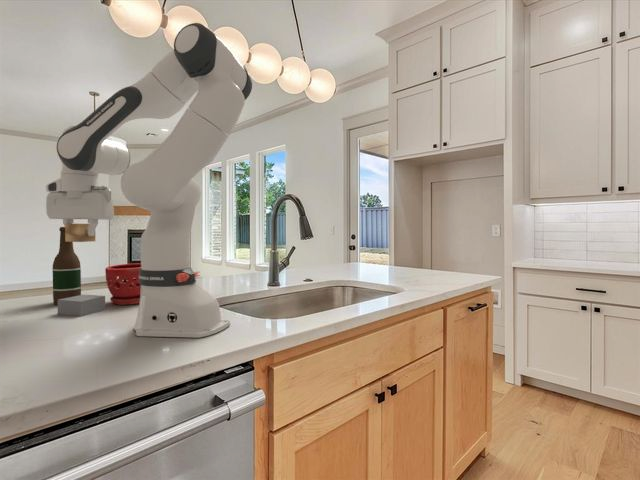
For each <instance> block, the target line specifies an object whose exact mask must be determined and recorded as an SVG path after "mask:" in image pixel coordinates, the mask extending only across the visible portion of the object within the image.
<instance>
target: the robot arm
mask: <svg viewBox="0 0 640 480" xmlns="http://www.w3.org/2000/svg"><path fill="white" fill-rule="evenodd" d="M252 90H253V80H252V78H251V75H250V74H249V72H248V70H247V68H245V66H243V65H242V64H241V62H240V61H239V59H238V58H237V57H236V56H235V54H234V53H233V51H232V50H231V49H230V47H228V46H227V44H225V43H224V42H223V40H221V39H220V38H219V37H217V36H216V33H214V31H213V30H211V29H210V28H209V27H208V26H206V25H204V24H202V23H200V22H192V23H189V24H186V25H185V26H184V27H181V29H180V30H179V31H178V33H177V34H176V36H175V38H174V41H173V49H172V50H171V51H170V52H168V53H167V54H166V55H165V56H164V57H162V58H161V59H160V60H159V61H158V62H157V63H156V64H155V65H154V66H153V67H152V68H151V69H150V70H149V71H148V72H147V74H146V75H144V76H143V77H142V78H141V79H140V80H138V81H136V82H135V83H133V84H131V85H129V86H126V87H122V88H121V89H119V90H118V91H117V92H115V93H114V94H113V95H111V96H110V97H109V98H108V99H106V100H105V101H104V102H103V103H102V104H101V105H99V106H98V107H97V108H96V109H95V110H94V111H92V113H90V114H89V115H88V116H87V117H86V118H85V119H83V120H82V121H81V122H79V123H78V124H77V125H73V126H68V127H66V128H65V129H64V130H63V132H62V134H61V135H60V136H59V138H58V139H57V142H56V152H57V156H58V157H59V159H60V161H61V164H62V165H61V170H60V178H58V179H56V180H54V181H52V182H49V183H47V184H46V185H45V191H46V192H47V195H46V199H45V201H46V203H45V207H46V210H45V211H46V216H47V217H48V219H50V220H62V224H63V227H65V223H69V224H74V220H87V224H89V226H88V229H87V230H85V235H86V236H94V235H95V236H96V228H97V226H98V225H99V220H107V221H108V220H109V221H110V220H112V219H113V218H114V217H115V207H114V200H113V197H112V190H111V189H110V188H108V187H107V186H106V185H101V186H99V174H103V175H110V176H118V175H121V178H120V188H121V191H122V195H123V196H124V198H126V200H127V201H128V202H129V203H131V204H133V205H134V206H136V207H138V208H140V209H143V210H146V211H150V216H149V220H148V223H147V226H146V228H145V230H144V231H143V232H142V234H141V238H140V263H141V269H140V270H139V284H140V287H141V292H140V302H139V303H138V310H137V316H136V320H135V323H134V326H133V330H134V331H135V336H137V337H154V338H155V337H156V338H157V337H164V338H195V339H196V338H204V337H207V336H212V335H214V334H217V333H219V332H221V331H223V330H224V329H227V328H228V327H229V326H230V325H231V321H230V318H227V317H222V315H221V308H220V304H219V302H218V300H217V298H216V297H214V296H213V295H212V294H211V293H209V292H208V291H207V290H206V289H204V288H203V287H202V286H200V285H199V284H198V283H197V278H196V277H200V274H199V273H200V271H199V270H198V271H193V269H192V267H191V266H190V263H191V262H190V261H191V260H190V259H191V258H190V257H191V256H190V255H191V252H190V251H191V249H190V248H191V244H190V243H191V234H192V227H193V221H194V216H195V211H196V208H197V205H198V203H199V202H200V200H201V188H200V186H199V184H198V182H197V181H196V180H195V179H194V177H195V176H196V175H198V174H199V173H200V172H201V171H202V170H203V169H204V168H206V167H207V166H209V165H210V164H212V163H213V161H214V159H215V158H216V156H217V155H218V154H219V153H220V151H221V148H222V147H223V145H224V144H225V143H226V141H227V140H228V138H229V136H230V135H231V134H232V132H233V130H234V128H235V126H236V124H237V123H238V121H239V118H240V116H241V114H242V112H243V109H244V107H245V102H246V100H247V99H248V98H249V97H250V96H251V95H250V94H251V93H252ZM195 94H196V95H195ZM194 95H195V96H194ZM192 97H194V98H193V100H192V101H191V102H190V103H189V105H188V106H187V108H186V110H185V111H184V112H183V114H182V116H181V117H180V119H179V120H178V122H177V123H176V125H175V126H174V127H173V129H172V131H171V132H170V134H169V135H168V136H167V137H166V138H165V139H164V140H163V142H161V143H160V144H159V145H158V146H157V147H156V148H155V149H154V150H153V151H151V153H150V154H148V155H147V156H146V157H144V158H143V159H142V160H140V161H138V162H137V161H136V162H134V163H132V164H130V163H131V154H130V151H129V149H128V147H127V146H126V145H125V144H123V143H121V142H119V141H116V140H114V139H111V138H110V137H111V136H112V135H113V134H114V133H115V132H116V131H117V130H118V129H120V128H121V127H122V126H123V125H124V124H126V123H128V122H130V121H133V120H134V121H135V120H138V119H139V120H140V119H153V120H154V119H155V120H165V119H166V120H167V119H169V118H172V117H173V116H175V115H176V114H177V113H178V112H180V111H181V110H182V109H183V108H184V107H185V105H186V104H187V103H188V102H189V101H190V100H191V99H192Z"/></svg>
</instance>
